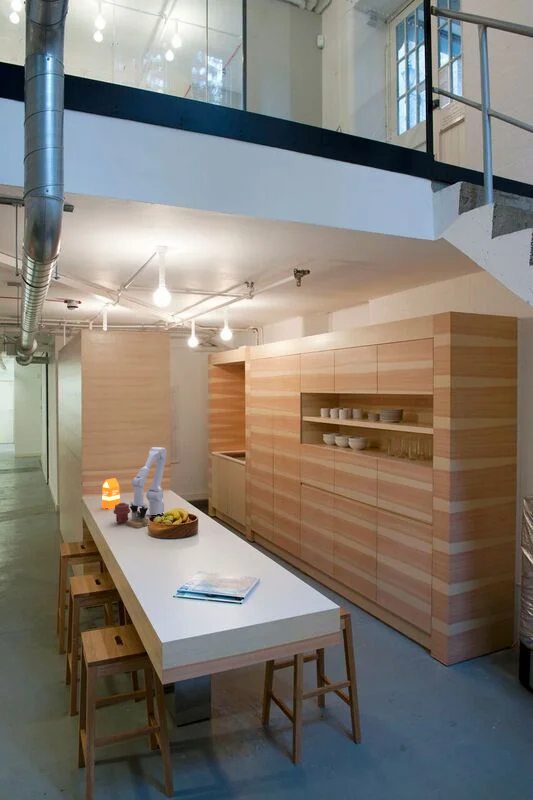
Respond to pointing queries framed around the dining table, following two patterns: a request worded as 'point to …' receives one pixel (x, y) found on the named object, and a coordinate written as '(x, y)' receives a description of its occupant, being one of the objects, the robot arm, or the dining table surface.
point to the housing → (136, 515)
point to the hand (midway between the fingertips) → (138, 517)
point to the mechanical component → (121, 512)
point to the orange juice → (110, 493)
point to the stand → (137, 522)
